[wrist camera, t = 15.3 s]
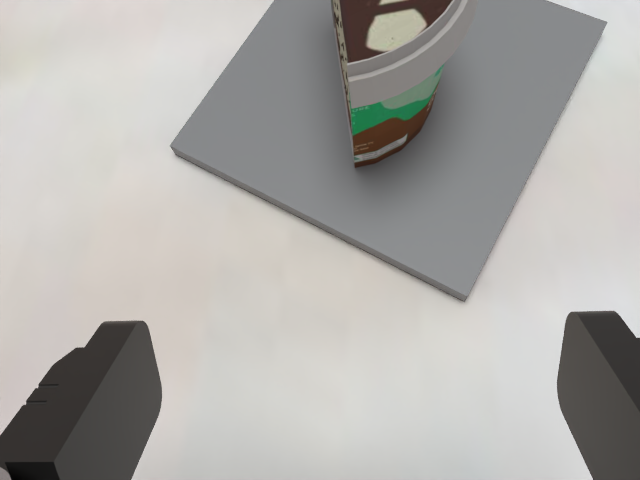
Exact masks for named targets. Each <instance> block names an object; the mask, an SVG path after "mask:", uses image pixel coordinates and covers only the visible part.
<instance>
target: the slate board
mask: <svg viewBox="0 0 640 480" xmlns="http://www.w3.org/2000/svg"><path fill="white" fill-rule="evenodd" d="M606 24H607V22H606V21H603V20H600V19H597V18H594V17H592V16H589V15H586V14H583V13H580V12H578V11H575V10H572V9H569V8H566V7H563V6H561V5H558V4H555V3H552V2H549V1H546V0H478V3H477V7H476V11H475V15H474V19H473V21H472V23H471V26H470V28H469V30H468V32H467V34H466V36H465V38H464V39H463V41H462V42H461V44H460V45H459V47H458V48H457V49H456V51H455V52H454V54H453V55H452V56H451V57H450V58H449V59H448V60H447V61H446V62H445V64H444V67H443V71H442V74H441V78H440V81H439V84H438V88H437V91H436V95H435V98H434V102H433V105H432V109H431V111H430V113H429V115H428V117H427V119H426V121H425V123H424V125H423V127H422V129H421V131H420V133H418V134H417V135H416V136H415V137H414V138H413V139H412V140H411V141H410V142H409V143H408V144H407V145H406V146H405V147H404V148H403V149H402V150H401V151H399V152H397V153H395V154H393V155H391V156H389V157H387V158H385V159H383V160H381V161H379V162H377V163H375V164H371V165H366V166H362V167H357V168H354V161H353V154H352V147H351V141H350V134H349V127H348V121H347V114H346V107H345V101H344V94H343V87H342V80H341V74H340V67H339V60H338V54H337V47H336V40H335V33H334V26H333V17H332V9H331V0H274V2H273V3H272V4H271V6H270V7H269V8H268V10H267V11H266V13H265V14H264V15H263V17H262V18H261V20H260V21H259V22H258V24H257V25H256V27H255V28H254V29H253V31H252V32H251V33H250V35H249V36H248V38H247V39H246V40H245V42H244V43H243V45H242V46H241V47H240V49H239V50H238V52H237V53H236V54H235V56H234V57H233V58H232V60H231V61H230V63H229V64H228V65H227V67H226V68H225V70H224V71H223V72H222V74H221V75H220V77H219V78H218V79H217V81H216V82H215V83H214V85H213V86H212V88H211V89H210V90H209V92H208V93H207V95H206V96H205V97H204V99H203V100H202V102H201V103H200V104H199V106H198V107H197V109H196V110H195V111H194V113H193V114H192V115H191V117H190V118H189V120H188V121H187V122H186V124H185V125H184V127H183V128H182V129H181V131H180V132H179V134H178V135H177V136H176V138H175V139H174V140H173V142H172V143H171V145H170V147H171V148H172V150H173V151H174V153H175V154H176V155H178V156H180V157H182V158H184V159H186V160H188V161H190V162H192V163H194V164H196V165H198V166H200V167H202V168H203V169H205V170H207V171H209V172H211V173H213V174H215V175H217V176H219V177H221V178H223V179H225V180H227V181H229V182H231V183H233V184H235V185H237V186H239V187H241V188H243V189H245V190H247V191H249V192H251V193H253V194H254V195H256V196H258V197H260V198H262V199H264V200H266V201H268V202H270V203H272V204H274V205H276V206H278V207H280V208H282V209H284V210H286V211H288V212H290V213H292V214H294V215H296V216H298V217H300V218H302V219H303V220H305V221H307V222H309V223H311V224H313V225H315V226H317V227H319V228H321V229H323V230H325V231H327V232H329V233H331V234H333V235H335V236H337V237H339V238H341V239H343V240H345V241H347V242H349V243H351V244H353V245H354V246H356V247H358V248H360V249H362V250H364V251H366V252H368V253H370V254H372V255H374V256H376V257H378V258H380V259H382V260H384V261H386V262H388V263H390V264H392V265H394V266H396V267H398V268H400V269H402V270H403V271H405V272H407V273H409V274H411V275H413V276H415V277H417V278H419V279H421V280H423V281H425V282H427V283H429V284H431V285H433V286H435V287H437V288H439V289H441V290H443V291H445V292H447V293H449V294H451V295H453V296H454V297H456V298H458V299H460V300H462V301H465V300H466V298H467V296H468V294H469V292H470V290H471V288H472V286H473V284H474V282H475V280H476V279H477V277H478V275H479V273H480V271H481V269H482V267H483V265H484V263H485V261H486V259H487V257H488V255H489V253H490V251H491V249H492V247H493V245H494V243H495V241H496V239H497V237H498V236H499V234H500V232H501V230H502V228H503V226H504V224H505V222H506V220H507V218H508V216H509V214H510V212H511V210H512V208H513V206H514V204H515V202H516V200H517V198H518V196H519V194H520V193H521V191H522V189H523V187H524V185H525V183H526V181H527V179H528V177H529V175H530V173H531V171H532V169H533V167H534V165H535V163H536V161H537V159H538V157H539V155H540V153H541V151H542V149H543V148H544V146H545V144H546V142H547V140H548V138H549V136H550V134H551V132H552V130H553V128H554V126H555V124H556V122H557V120H558V118H559V116H560V114H561V112H562V110H563V108H564V106H565V105H566V103H567V101H568V99H569V97H570V95H571V93H572V91H573V89H574V87H575V85H576V83H577V81H578V79H579V77H580V75H581V73H582V71H583V69H584V67H585V65H586V63H587V62H588V60H589V58H590V56H591V54H592V52H593V50H594V48H595V46H596V44H597V42H598V40H599V38H600V36H601V34H602V32H603V30H604V28H605V26H606Z"/></svg>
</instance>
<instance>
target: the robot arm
mask: <svg viewBox="0 0 640 480" xmlns="http://www.w3.org/2000/svg"><path fill="white" fill-rule="evenodd" d="M557 392H558V399H559V404H560V408H561V411H562V413H563V416H564V418H565V420H566V422H567V424H568V426H569V429H570V431H571V433H572V435H573V437H574V439H575V441H576V444H577V446H578V448H579V450H580V452H581V454H582V456H583V459H584V461H585V463H586V465H587V467H588V469H589V471H590V474H591V476H592V478H593V480H640V338H636V337H635V335H634V334H633V333H632V332H631V330H630V329H629V328H628V326H627V325H626V324H625V322H624V321H623V320H622V318H621V317H620V316H619V315H618V313H616V312H615V311H587V312H571V313H569V315H568V316H567V319H566V323H565V330H564V337H563V344H562V350H561V357H560V364H559V371H558V378H557ZM161 401H162V387H161V381H160V376H159V372H158V367H157V363H156V359H155V354H154V350H153V345H152V341H151V336H150V332H149V329H148V326H147V324H146V323H145V322H144V321H106V322H103V323H102V324H101V325H100V326H99V328H98V329H97V331H96V332H95V333H94V335H93V336H92V338H91V339H90V341H89V342H88V343H87V345H86V346H85V348H75V349H74V350H73V351H71V352H70V353H68V354H67V355H66V356H64V357H63V358H62V359H60V360H59V361H58V362H56V363H55V364H54V365H53V366H52V367H51V368H50V370H49V371H48V372H47V374H46V375H45V377H44V378H43V379H42V381H41V382H40V383H39V387H38V388H36V389H35V390H34V391H33V393H32V394H31V395H30V397H29V398H28V399H27V401H26V405H23V406H22V407H21V409H20V410H19V411H18V413H17V414H16V415H15V417H14V418H13V419H12V421H11V422H10V423H9V425H8V426H7V427H6V429H5V430H4V431H3V433H2V434H1V435H0V480H131V478H132V476H133V474H134V471H135V469H136V467H137V464H138V462H139V460H140V458H141V455H142V453H143V451H144V448H145V446H146V444H147V441H148V439H149V437H150V434H151V432H152V430H153V427H154V425H155V423H156V420H157V418H158V415H159V412H160V408H161Z"/></svg>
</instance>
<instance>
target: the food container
mask: <svg viewBox="0 0 640 480" xmlns="http://www.w3.org/2000/svg"><path fill="white" fill-rule="evenodd" d="M477 3H478V0H331V9H332V17H333V26H334V33H335V40H336V47H337V54H338V60H339V67H340V74H341V80H342V87H343V94H344V101H345V107H346V114H347V121H348V127H349V134H350V141H351V147H352V154H353V161H354V168H357V167H362V166H366V165H371V164H375V163H377V162H379V161H381V160H383V159H385V158H387V157H389V156H391V155H393V154H395V153H397V152H399V151H401V150H402V149H403V148H404V147H405V146H406V145H407V144H408V143H409V142H410V141H411V140H412V139H413V138H414V137H415V136H416V135H417V134H418V133H420V131H421V129H422V127H423V125H424V123H425V121H426V119H427V117H428V115H429V113H430V111H431V109H432V105H433V102H434V98H435V95H436V91H437V88H438V84H439V81H440V78H441V74H442V71H443V67H444V64H445V62H446V61H447V60H448V59H449V58H450V57H451V56H452V55H453V54H454V52H455V51H456V49H457V48H458V47H459V45H460V44H461V42H462V41H463V39H464V38H465V36H466V34H467V32H468V30H469V28H470V26H471V23H472V21H473V19H474V15H475V11H476V7H477Z"/></svg>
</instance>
